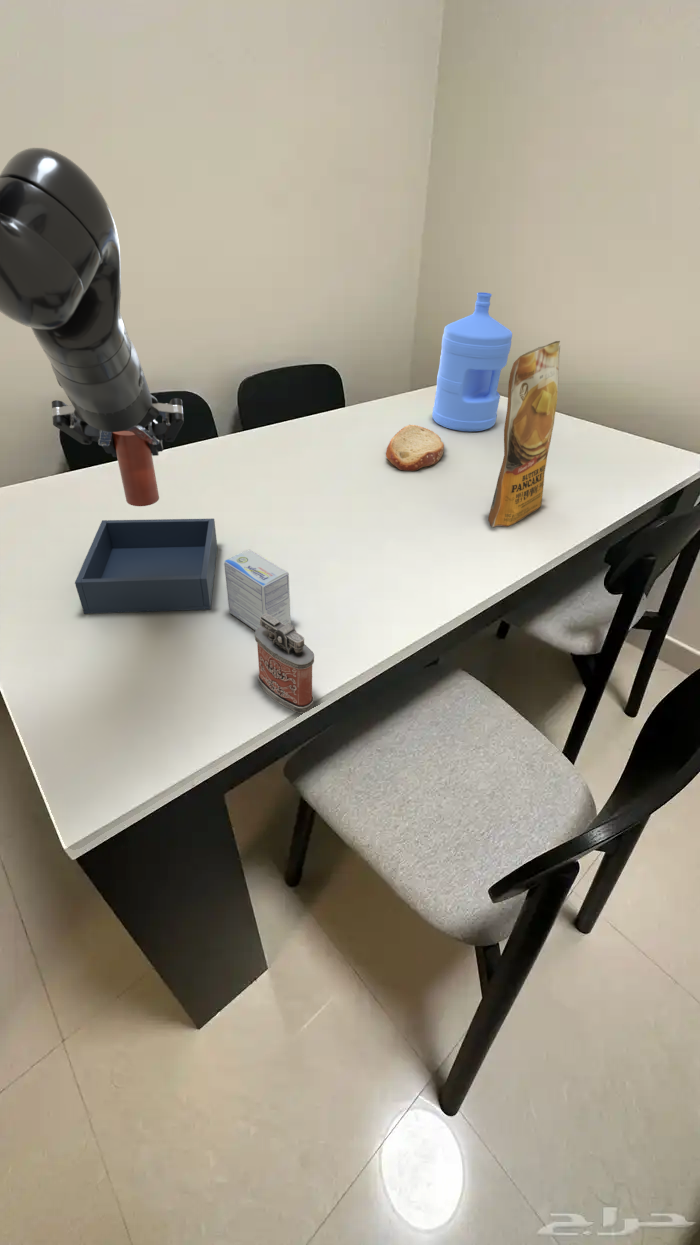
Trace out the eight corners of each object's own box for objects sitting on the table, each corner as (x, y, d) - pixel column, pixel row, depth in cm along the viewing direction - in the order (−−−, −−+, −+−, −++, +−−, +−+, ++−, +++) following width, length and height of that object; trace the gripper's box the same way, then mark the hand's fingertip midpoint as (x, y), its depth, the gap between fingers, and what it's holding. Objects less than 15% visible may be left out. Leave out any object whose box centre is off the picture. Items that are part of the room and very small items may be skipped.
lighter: (320, 702, 67) (321, 635, 61) (299, 718, 65) (298, 650, 59) (272, 668, 71) (269, 603, 65) (251, 682, 69) (246, 616, 63)
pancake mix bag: (466, 521, 103) (498, 352, 86) (521, 490, 114) (559, 335, 97) (499, 535, 100) (539, 362, 82) (552, 502, 111) (597, 343, 93)
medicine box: (291, 625, 78) (290, 571, 72) (266, 640, 75) (263, 585, 70) (253, 600, 82) (250, 547, 76) (228, 613, 79) (222, 559, 74)
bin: (83, 613, 78) (74, 582, 74) (109, 549, 90) (101, 520, 87) (210, 609, 80) (206, 578, 76) (217, 546, 93) (214, 518, 89)
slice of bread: (419, 431, 137) (421, 415, 135) (469, 459, 125) (472, 442, 123) (355, 443, 129) (356, 427, 127) (402, 474, 118) (404, 456, 115)
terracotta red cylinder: (123, 506, 72) (108, 435, 66) (129, 492, 75) (115, 423, 69) (156, 506, 72) (144, 435, 67) (161, 492, 76) (149, 423, 70)
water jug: (419, 420, 143) (434, 291, 126) (453, 406, 153) (472, 285, 135) (474, 438, 136) (498, 303, 118) (506, 422, 145) (533, 295, 128)
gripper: (176, 337, 57) (192, 418, 73) (18, 337, 54) (72, 421, 71) (182, 410, 56) (197, 475, 73) (22, 414, 53) (76, 480, 70)
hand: (135, 448), depth 72 cm, fingers closed on terracotta red cylinder, 4 cm apart
